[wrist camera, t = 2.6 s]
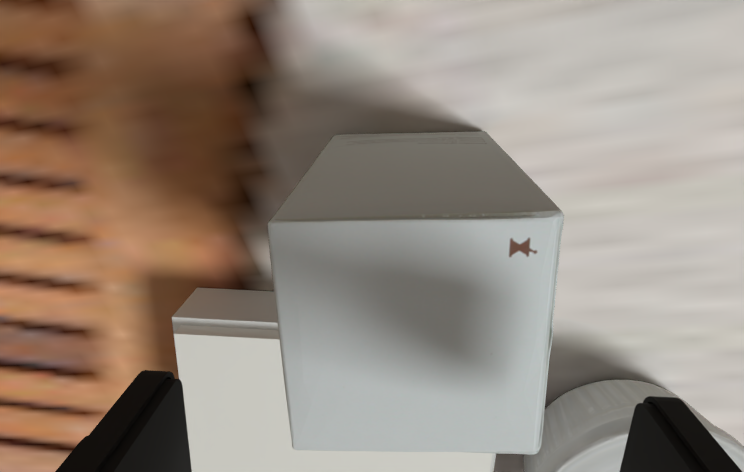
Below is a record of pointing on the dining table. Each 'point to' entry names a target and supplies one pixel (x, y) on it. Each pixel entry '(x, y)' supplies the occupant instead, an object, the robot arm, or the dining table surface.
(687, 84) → the dining table surface
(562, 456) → the ramekin
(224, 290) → the stand
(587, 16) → the dining table surface
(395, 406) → the supplement box
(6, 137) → the dining table surface
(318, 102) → the dining table surface
